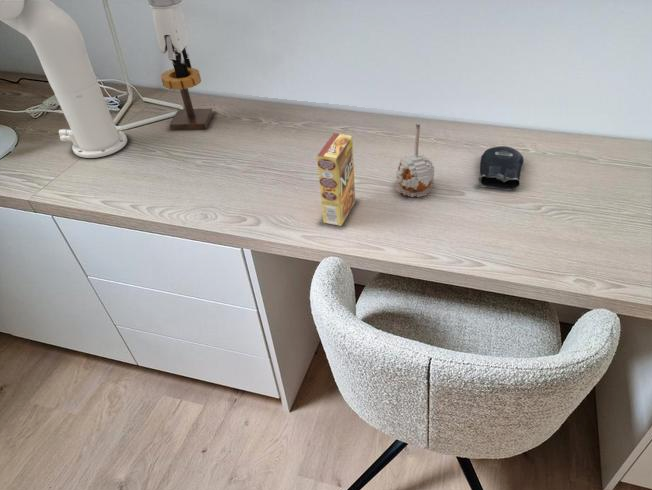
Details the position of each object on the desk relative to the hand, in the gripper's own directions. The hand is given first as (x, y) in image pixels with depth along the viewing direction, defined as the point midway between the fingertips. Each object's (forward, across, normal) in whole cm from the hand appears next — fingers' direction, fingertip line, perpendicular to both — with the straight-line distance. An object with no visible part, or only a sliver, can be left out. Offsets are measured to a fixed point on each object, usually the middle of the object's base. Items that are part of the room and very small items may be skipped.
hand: (185, 76), depth 126 cm
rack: (+11, +4, 0) cm, 11 cm away
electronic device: (+11, +32, +76) cm, 83 cm away
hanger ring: (0, +3, 0) cm, 3 cm away
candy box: (+11, +46, +40) cm, 62 cm away
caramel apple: (+11, +38, +56) cm, 68 cm away
